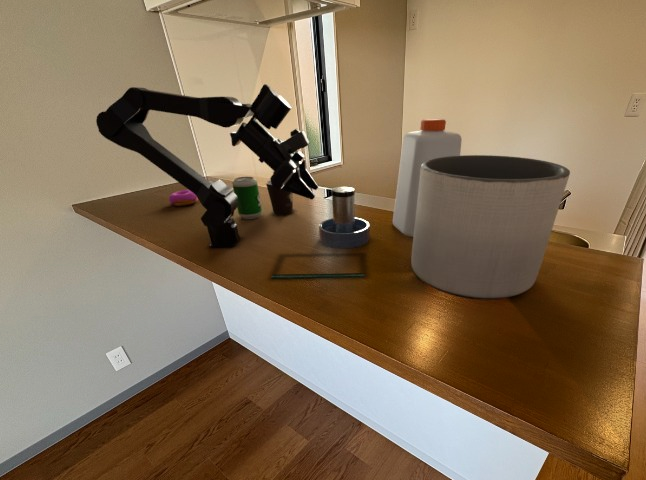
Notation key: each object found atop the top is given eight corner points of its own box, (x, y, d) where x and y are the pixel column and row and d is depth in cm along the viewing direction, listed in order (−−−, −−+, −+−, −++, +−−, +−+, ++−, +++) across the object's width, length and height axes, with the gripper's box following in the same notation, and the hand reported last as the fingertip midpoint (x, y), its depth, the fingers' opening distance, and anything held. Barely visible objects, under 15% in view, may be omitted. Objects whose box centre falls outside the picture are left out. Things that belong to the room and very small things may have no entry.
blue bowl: (318, 251, 81) (317, 234, 79) (322, 232, 92) (321, 217, 90) (370, 250, 81) (370, 233, 79) (367, 231, 92) (367, 216, 90)
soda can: (259, 219, 103) (252, 181, 96) (236, 220, 103) (227, 181, 97) (265, 212, 109) (259, 175, 103) (243, 212, 109) (236, 176, 103)
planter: (411, 247, 82) (419, 154, 70) (515, 252, 78) (543, 155, 66) (409, 299, 61) (420, 179, 49) (552, 310, 57) (602, 182, 45)
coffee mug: (282, 217, 104) (278, 186, 99) (265, 213, 109) (260, 182, 103) (307, 209, 112) (304, 179, 107) (290, 205, 116) (286, 176, 111)
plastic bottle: (408, 241, 85) (418, 122, 70) (388, 223, 98) (393, 118, 83) (458, 235, 89) (478, 120, 74) (432, 218, 101) (445, 117, 86)
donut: (182, 199, 125) (178, 187, 123) (206, 200, 124) (203, 188, 122) (165, 207, 117) (161, 194, 114) (191, 207, 115) (187, 195, 113)
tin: (333, 243, 84) (330, 192, 77) (334, 235, 89) (331, 186, 82) (355, 242, 84) (354, 192, 77) (355, 234, 89) (354, 186, 82)
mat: (271, 279, 69) (271, 277, 69) (281, 255, 79) (281, 254, 79) (364, 277, 69) (364, 275, 69) (362, 254, 79) (362, 252, 79)
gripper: (277, 118, 63) (335, 176, 69) (292, 114, 79) (338, 161, 84) (245, 162, 67) (303, 213, 73) (265, 150, 83) (311, 192, 89)
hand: (315, 193), depth 80 cm, fingers open, 9 cm apart
